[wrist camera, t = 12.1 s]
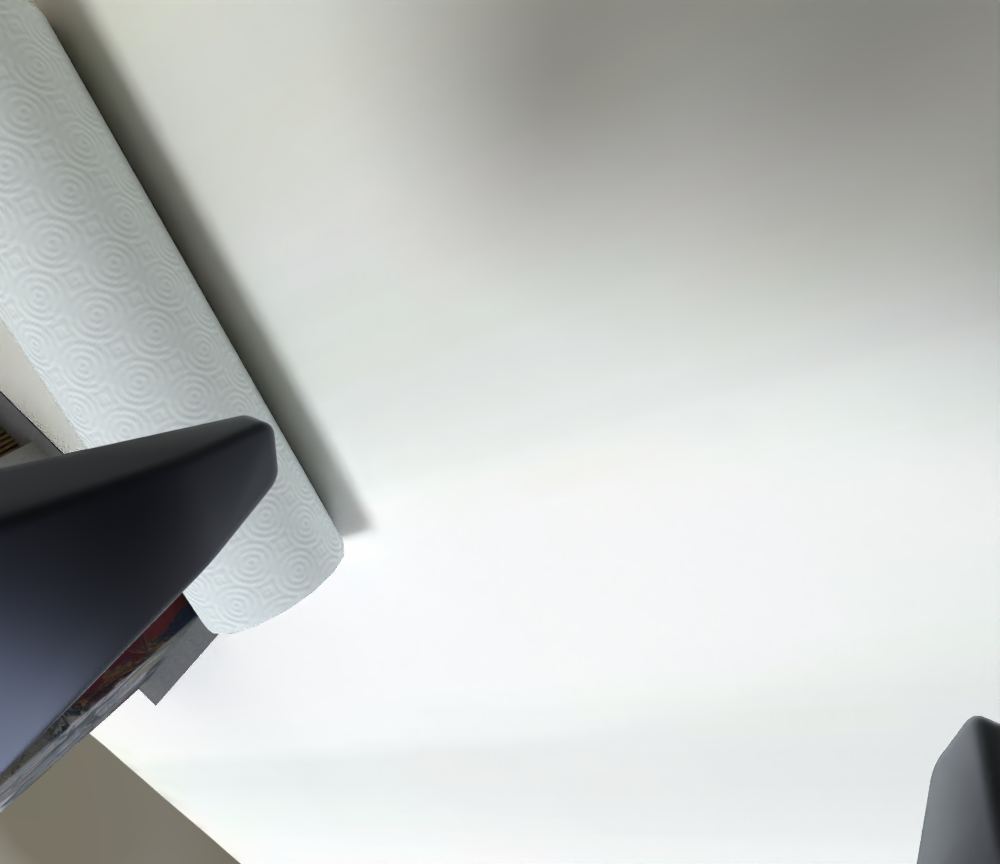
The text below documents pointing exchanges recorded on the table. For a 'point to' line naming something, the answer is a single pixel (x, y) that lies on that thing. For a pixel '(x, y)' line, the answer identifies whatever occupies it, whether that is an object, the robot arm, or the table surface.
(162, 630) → the row of books
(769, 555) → the table surface
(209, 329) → the paper towel roll
